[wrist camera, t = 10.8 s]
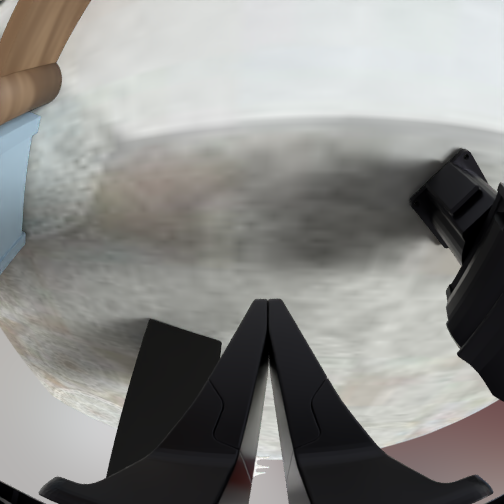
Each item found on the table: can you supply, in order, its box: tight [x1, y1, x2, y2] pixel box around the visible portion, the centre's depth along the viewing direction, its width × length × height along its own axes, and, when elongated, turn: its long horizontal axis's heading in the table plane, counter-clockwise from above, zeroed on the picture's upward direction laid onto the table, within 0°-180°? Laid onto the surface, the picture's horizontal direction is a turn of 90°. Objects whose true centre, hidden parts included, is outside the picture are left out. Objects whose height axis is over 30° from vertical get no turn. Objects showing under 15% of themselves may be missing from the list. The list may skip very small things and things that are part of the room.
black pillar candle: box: [106, 319, 222, 478], centre depth 22 cm, size 8×8×28 cm
